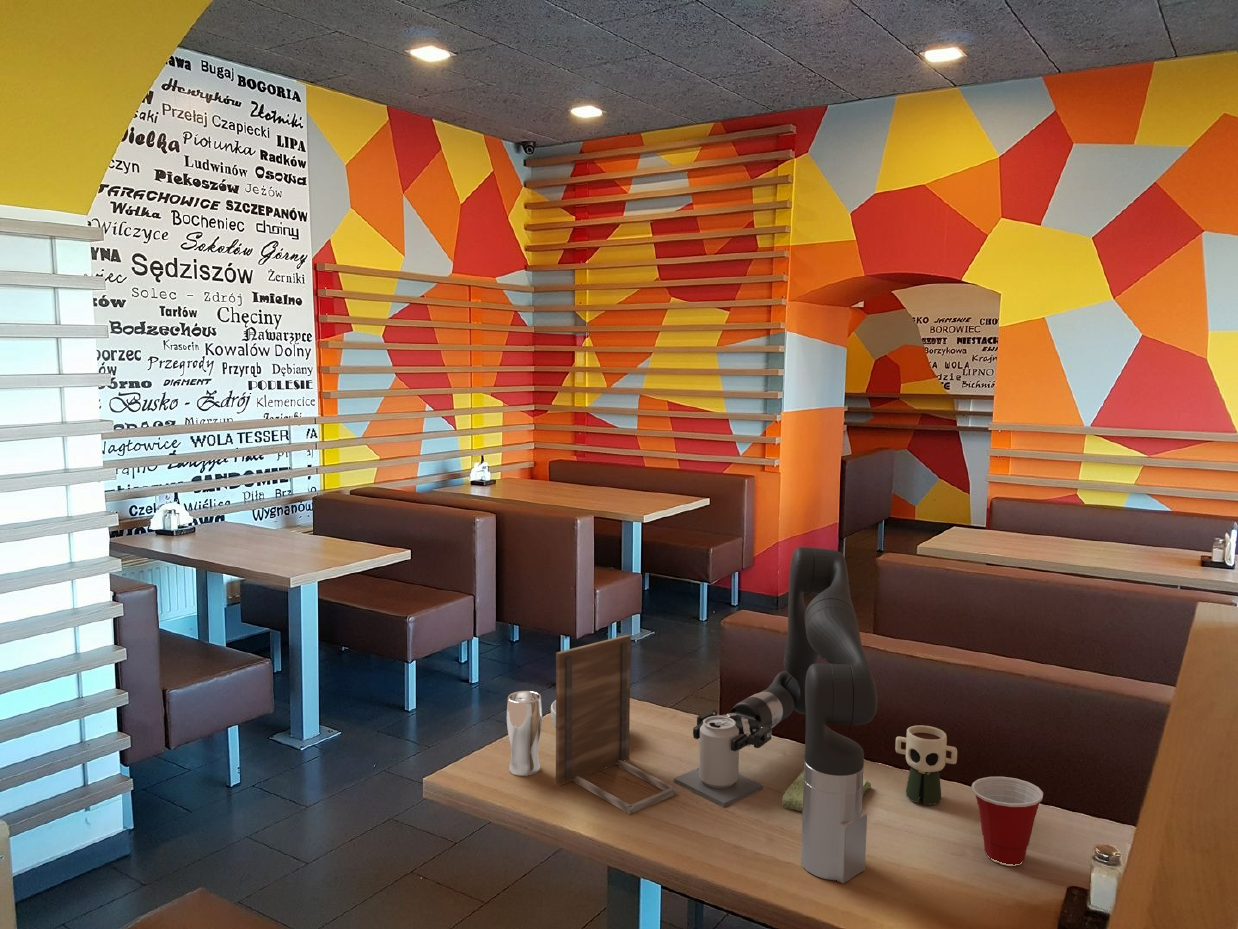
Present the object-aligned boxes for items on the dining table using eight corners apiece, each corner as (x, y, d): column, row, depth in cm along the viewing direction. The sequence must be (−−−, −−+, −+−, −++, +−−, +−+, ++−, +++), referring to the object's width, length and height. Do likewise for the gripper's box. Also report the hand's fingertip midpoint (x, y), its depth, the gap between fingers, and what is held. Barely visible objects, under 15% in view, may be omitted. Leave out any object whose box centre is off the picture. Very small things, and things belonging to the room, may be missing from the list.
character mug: (889, 800, 165) (892, 733, 164) (896, 785, 172) (899, 720, 170) (951, 814, 160) (955, 745, 159) (956, 798, 167) (960, 731, 165)
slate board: (762, 789, 169) (762, 785, 169) (723, 807, 162) (723, 803, 162) (712, 765, 179) (712, 762, 179) (673, 782, 172) (673, 778, 172)
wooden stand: (688, 789, 169) (691, 657, 166) (617, 820, 157) (618, 678, 154) (625, 757, 182) (627, 634, 180) (555, 784, 171) (556, 652, 168)
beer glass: (544, 762, 180) (545, 691, 178) (538, 778, 173) (538, 704, 171) (511, 761, 180) (510, 689, 179) (503, 776, 174) (503, 702, 172)
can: (692, 776, 172) (692, 717, 171) (725, 769, 175) (726, 711, 174) (711, 793, 166) (712, 731, 164) (745, 785, 169) (746, 725, 167)
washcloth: (873, 789, 171) (874, 773, 170) (845, 829, 156) (846, 811, 155) (807, 773, 177) (808, 757, 177) (775, 809, 162) (775, 792, 162)
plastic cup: (979, 833, 154) (983, 766, 153) (1046, 855, 147) (1051, 785, 146) (958, 859, 146) (962, 789, 144) (1028, 883, 139) (1033, 810, 138)
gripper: (727, 688, 185) (682, 711, 172) (789, 705, 176) (746, 730, 163) (726, 723, 185) (682, 748, 173) (787, 741, 177) (745, 770, 164)
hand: (713, 740), depth 168 cm, fingers open, 8 cm apart
